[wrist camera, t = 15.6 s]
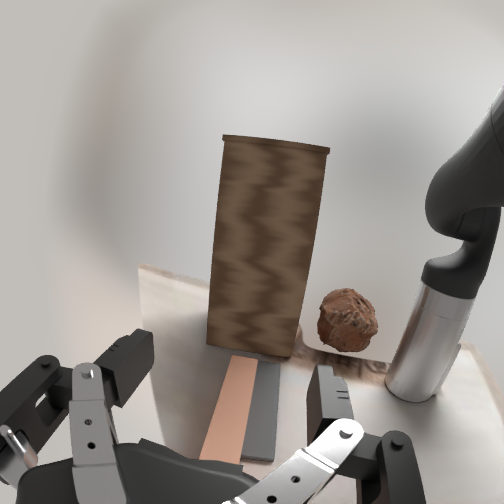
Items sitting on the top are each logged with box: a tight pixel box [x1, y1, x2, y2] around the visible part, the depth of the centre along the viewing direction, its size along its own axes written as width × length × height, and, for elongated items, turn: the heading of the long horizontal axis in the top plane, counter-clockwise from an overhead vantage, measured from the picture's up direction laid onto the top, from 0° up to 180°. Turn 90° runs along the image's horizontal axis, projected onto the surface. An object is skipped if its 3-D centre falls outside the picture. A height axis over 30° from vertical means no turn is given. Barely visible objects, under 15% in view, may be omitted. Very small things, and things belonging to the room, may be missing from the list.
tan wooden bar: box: [199, 355, 258, 465], centre depth 25 cm, size 4×22×4 cm, turn 174°
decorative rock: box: [317, 288, 378, 352], centre depth 48 cm, size 13×11×10 cm
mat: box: [241, 361, 280, 462], centre depth 32 cm, size 6×18×1 cm, turn 173°
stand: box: [206, 135, 330, 358], centre depth 46 cm, size 15×15×32 cm
